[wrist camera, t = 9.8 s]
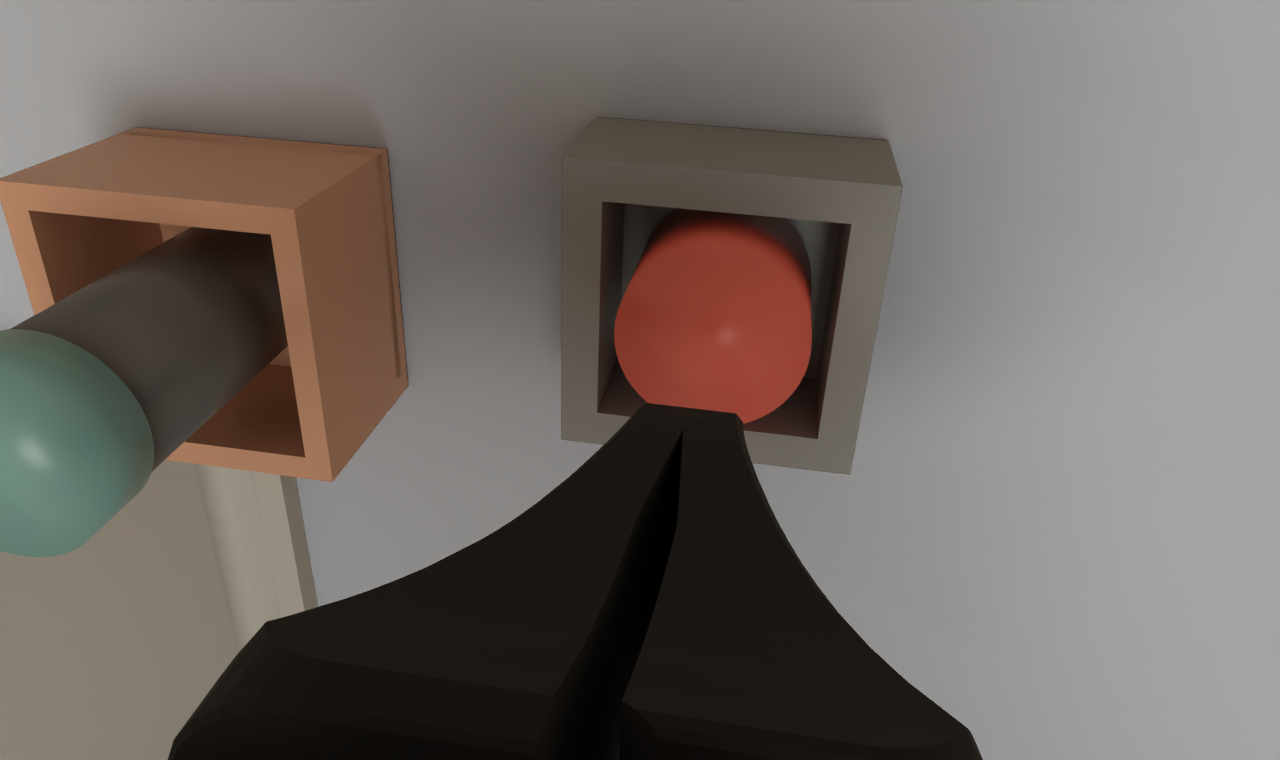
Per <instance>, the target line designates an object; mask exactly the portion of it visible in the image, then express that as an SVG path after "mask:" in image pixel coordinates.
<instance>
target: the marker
mask: <svg viewBox="0 0 1280 760" xmlns="http://www.w3.org/2000/svg"><path fill="white" fill-rule="evenodd" d="M287 346H288V342H287V336H286V329H285V323H284V317H283V310H282V304H281V297H280V291H279V284H278V278H277V272H276V265H275V259H274V252H273V246H272V240H271V235H270V234H260V233H250V232H240V231H230V230H220V229H210V228H200V227H190V228H188V229H186V230H185V231H183V232H181V233H179V234H178V235H176V236H174V237H172V238H171V239H169V240H167V241H165V242H163V243H162V244H160V245H158V246H156V247H155V248H153V249H151V250H149V251H148V252H146V253H144V254H142V255H140V256H139V257H137V258H135V259H133V260H132V261H130V262H128V263H126V264H125V265H123V266H121V267H119V268H117V269H116V270H114V271H112V272H110V273H109V274H107V275H105V276H103V277H102V278H100V279H98V280H96V281H94V282H93V283H91V284H89V285H87V286H86V287H84V288H82V289H80V290H79V291H77V292H75V293H73V294H71V295H70V296H68V297H66V298H64V299H63V300H61V301H59V302H57V303H56V304H54V305H52V306H50V307H48V308H47V309H45V310H43V311H41V312H40V313H38V314H36V315H34V316H33V317H31V318H29V319H27V320H25V321H24V322H22V323H20V324H18V325H17V326H15V327H13V328H11V329H8V330H2V331H0V551H2V552H6V553H10V554H14V555H19V556H27V557H51V556H58V555H62V554H66V553H68V552H71V551H73V550H76V549H77V548H79V547H80V546H82V545H84V544H85V543H86V542H87V541H88V540H89V539H90V538H91V537H93V536H94V535H95V534H96V533H97V532H98V531H99V530H100V529H101V528H102V527H103V526H104V525H105V524H106V523H107V522H109V521H110V520H111V519H112V518H113V517H114V516H115V515H116V514H117V513H118V512H119V511H120V510H121V509H122V508H123V507H124V506H126V505H127V504H128V503H129V502H130V501H131V500H132V499H133V498H134V497H135V496H136V495H137V494H138V493H139V492H140V491H141V490H142V489H143V488H144V486H145V485H146V483H147V481H148V479H149V477H150V475H151V472H152V471H154V470H155V469H156V468H157V467H158V466H159V465H160V464H161V463H162V462H163V461H164V460H165V459H166V458H168V457H169V456H170V455H171V454H172V453H173V452H174V451H175V450H176V449H177V448H178V447H179V446H181V445H182V444H183V443H184V442H185V441H186V440H187V439H188V438H189V437H190V436H191V435H192V434H193V433H195V432H196V431H197V430H198V429H199V428H200V427H201V426H202V425H203V424H204V423H205V422H206V421H207V420H209V419H210V418H211V417H212V416H213V415H214V414H215V413H216V412H217V411H218V410H219V409H220V408H222V407H223V406H224V405H225V404H226V403H227V402H228V401H229V400H230V399H231V398H232V397H233V396H234V395H236V394H237V393H238V392H239V391H240V390H241V389H242V388H243V387H244V386H245V385H246V384H247V383H249V382H250V381H251V380H252V379H253V378H254V377H255V376H256V375H257V374H258V373H259V372H260V371H261V370H263V369H264V368H265V367H266V366H267V365H268V364H269V363H270V362H271V361H272V360H273V359H274V358H275V357H277V356H278V355H279V354H280V353H281V352H282V351H283V350H284V349H285V348H286V347H287Z"/></svg>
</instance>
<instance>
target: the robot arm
mask: <svg viewBox="0 0 1280 760" xmlns="http://www.w3.org/2000/svg"><path fill="white" fill-rule="evenodd" d="M168 760H983V759H982V757H981V754H980V752H979V750H978V747H977V745H976V743H975V740H974V738H973V736H972V734H971V732H970V731H969V730H968V728H966V727H965V726H964V725H963V724H961V723H960V722H959V721H957V720H956V719H955V718H954V717H952V716H951V715H950V714H948V713H947V712H946V711H945V710H943V709H942V708H941V707H939V706H938V705H937V704H935V703H934V702H933V701H932V700H930V699H929V698H928V697H926V696H925V695H924V694H923V693H921V692H920V691H919V690H917V689H916V688H915V687H913V686H912V685H911V684H910V683H908V682H907V681H906V680H905V679H904V678H903V677H901V676H900V675H899V674H898V673H897V672H896V671H895V670H894V669H893V668H892V667H891V666H890V665H888V664H887V663H886V662H885V661H884V660H883V659H882V658H881V657H880V656H879V655H878V654H877V653H875V652H874V651H873V650H872V649H871V648H870V647H869V646H868V645H867V644H866V642H865V641H864V640H863V639H862V638H861V637H860V636H859V635H858V634H857V633H856V632H855V630H854V629H853V628H852V627H851V626H850V625H849V624H848V623H847V622H846V621H845V619H844V618H843V617H842V616H841V615H840V614H839V613H838V612H837V610H836V609H835V608H834V607H833V605H832V604H831V603H830V601H829V600H828V599H827V598H826V596H825V595H824V594H823V592H822V591H821V590H820V589H819V587H818V586H817V584H816V583H815V582H814V580H813V579H812V577H811V576H810V574H809V573H808V571H807V570H806V569H805V567H804V566H803V564H802V563H801V561H800V559H799V558H798V556H797V555H796V553H795V551H794V550H793V548H792V546H791V545H790V543H789V541H788V540H787V538H786V536H785V534H784V532H783V531H782V529H781V527H780V525H779V523H778V521H777V520H776V518H775V516H774V513H773V511H772V509H771V507H770V505H769V503H768V501H767V499H766V496H765V494H764V492H763V489H762V487H761V485H760V483H759V480H758V478H757V475H756V473H755V470H754V467H753V465H752V461H751V458H750V455H749V452H748V449H747V445H746V441H745V437H744V430H743V421H742V420H741V419H740V418H739V416H738V415H737V414H736V413H729V412H720V411H712V410H703V409H695V408H686V407H678V406H669V405H660V404H652V403H645V404H644V405H643V406H641V407H640V408H639V409H637V411H636V412H635V413H634V414H633V415H632V416H631V417H630V418H629V419H628V421H627V422H626V423H625V424H624V425H623V426H622V427H621V428H620V429H619V430H618V431H617V432H616V433H615V434H614V435H613V436H612V437H611V438H610V439H609V440H608V441H607V442H606V443H605V444H604V445H603V446H602V447H601V448H600V449H599V450H598V451H597V452H596V453H595V454H594V455H593V456H592V457H591V458H590V459H588V460H587V461H586V462H585V463H584V464H583V465H582V466H581V467H580V468H579V469H578V470H577V471H576V472H574V473H573V474H572V475H571V476H570V477H569V478H567V479H566V480H565V481H564V482H562V483H561V484H560V485H559V486H557V487H556V488H555V489H554V490H552V491H551V492H550V493H549V494H547V495H546V496H545V497H544V498H542V499H541V500H540V501H539V502H538V503H536V504H535V505H534V506H532V507H531V508H529V509H528V510H527V511H525V512H524V513H522V514H521V515H520V516H518V517H517V518H515V519H514V520H512V521H511V522H509V523H508V524H506V525H505V526H503V527H501V528H500V529H498V530H497V531H495V532H493V533H492V534H490V535H488V536H487V537H485V538H483V539H481V540H479V541H477V542H476V543H474V544H472V545H470V546H468V547H466V548H464V549H462V550H460V551H458V552H456V553H454V554H452V555H450V556H448V557H446V558H444V559H442V560H440V561H438V562H436V563H434V564H432V565H430V566H428V567H426V568H424V569H422V570H419V571H417V572H415V573H412V574H410V575H407V576H405V577H403V578H400V579H398V580H396V581H393V582H390V583H388V584H385V585H382V586H380V587H377V588H374V589H372V590H369V591H367V592H364V593H361V594H358V595H355V596H352V597H349V598H346V599H343V600H340V601H337V602H333V603H330V604H326V605H323V606H320V607H316V608H313V609H310V610H306V611H303V612H299V613H296V614H293V615H289V616H286V617H282V618H278V619H274V620H270V621H266V622H265V623H264V625H263V626H262V627H261V628H260V629H259V630H258V632H257V633H256V634H255V635H254V636H253V637H252V638H251V639H250V641H249V642H248V643H247V644H246V645H245V646H244V647H243V648H242V649H241V651H240V652H239V653H238V654H237V655H236V656H235V658H234V659H233V660H232V662H231V663H230V664H229V666H228V667H227V668H226V669H225V671H224V672H223V673H222V675H221V676H220V677H219V679H218V680H217V681H216V683H215V684H214V685H213V687H212V688H211V690H210V691H209V692H208V694H207V695H206V696H205V698H204V699H203V700H202V702H201V703H200V705H199V706H198V707H197V709H196V710H195V711H194V713H193V714H192V715H191V717H190V718H189V719H188V721H187V722H186V724H185V725H184V726H183V728H182V729H181V730H180V732H179V733H178V734H177V736H176V737H175V739H174V740H173V744H172V747H171V750H170V754H169V757H168Z"/></svg>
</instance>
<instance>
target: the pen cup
mask: <svg viewBox="0 0 1280 760" xmlns="http://www.w3.org/2000/svg"><path fill="white" fill-rule="evenodd" d="M0 200H1V204H2V207H3V211H4V214H5V217H6V221H7V224H8V227H9V231H10V234H11V237H12V241H13V244H14V248H15V251H16V254H17V258H18V261H19V264H20V268H21V271H22V275H23V278H24V281H25V285H26V288H27V291H28V295H29V298H30V302H31V305H32V308H33V312H34V315H36V314H38V313H40V312H41V311H43V310H45V309H47V308H48V307H50V306H52V305H54V304H56V303H57V302H59V301H61V300H63V299H64V298H66V297H68V296H70V295H71V294H73V293H75V292H77V291H79V290H80V289H82V288H84V287H86V286H87V285H89V284H91V283H93V282H94V281H96V280H98V279H100V278H102V277H103V276H105V275H107V274H109V273H110V272H112V271H114V270H116V269H117V268H119V267H121V266H123V265H125V264H126V263H128V262H130V261H132V260H133V259H135V258H137V257H139V256H140V255H142V254H144V253H146V252H148V251H149V250H151V249H153V248H155V247H156V246H158V245H160V244H162V243H163V242H165V241H167V240H169V239H171V238H172V237H174V236H176V235H178V234H179V233H181V232H183V231H185V230H186V229H188V228H190V227H200V228H210V229H220V230H230V231H240V232H250V233H260V234H270V235H271V240H272V246H273V252H274V259H275V265H276V272H277V278H278V284H279V291H280V297H281V304H282V310H283V317H284V323H285V329H286V336H287V342H288V346H287V347H286V348H285V349H284V350H283V351H282V352H281V353H280V354H279V355H278V356H277V357H275V358H274V359H273V360H272V361H271V362H270V363H269V364H268V365H267V366H266V367H265V368H264V369H263V370H261V371H260V372H259V373H258V374H257V375H256V376H255V377H254V378H253V379H252V380H251V381H250V382H249V383H247V384H246V385H245V386H244V387H243V388H242V389H241V390H240V391H239V392H238V393H237V394H236V395H234V396H233V397H232V398H231V399H230V400H229V401H228V402H227V403H226V404H225V405H224V406H223V407H222V408H220V409H219V410H218V411H217V412H216V413H215V414H214V415H213V416H212V417H211V418H210V419H209V420H207V421H206V422H205V423H204V424H203V425H202V426H201V427H200V428H199V429H198V430H197V431H196V432H195V433H193V434H192V435H191V436H190V437H189V438H188V439H187V440H186V441H185V442H184V443H183V444H182V445H181V446H179V447H178V448H177V449H176V450H175V451H174V452H173V453H172V454H171V455H170V456H169V457H168V458H166V459H165V460H171V461H179V462H186V463H194V464H201V465H209V466H216V467H224V468H231V469H239V470H247V471H254V472H262V473H269V474H277V475H284V476H292V477H299V478H307V479H315V480H322V481H330V482H333V481H334V479H335V478H336V477H337V476H338V474H339V473H340V472H341V471H342V469H343V468H344V467H345V465H346V464H347V463H348V462H349V460H350V459H351V458H352V457H353V455H354V454H355V453H356V451H357V450H358V449H359V448H360V446H361V445H362V444H363V443H364V441H365V440H366V439H367V438H368V436H369V435H370V434H371V432H372V431H373V430H374V429H375V427H376V426H377V425H378V424H379V422H380V421H381V420H382V418H383V417H384V416H385V415H386V413H387V412H388V411H389V410H390V408H391V407H392V406H393V404H394V403H395V402H396V401H397V399H398V398H399V397H400V396H401V394H402V393H403V392H404V390H405V389H406V388H407V387H408V380H407V368H406V357H405V346H404V334H403V323H402V312H401V301H400V289H399V278H398V267H397V255H396V244H395V233H394V221H393V210H392V199H391V188H390V176H389V165H388V154H387V149H380V148H368V147H357V146H345V145H334V144H322V143H311V142H300V141H288V140H277V139H265V138H254V137H242V136H231V135H219V134H208V133H196V132H185V131H173V130H162V129H150V128H139V127H136V128H134V129H131V130H128V131H125V132H123V133H120V134H117V135H115V136H112V137H109V138H107V139H104V140H101V141H99V142H96V143H93V144H91V145H88V146H85V147H83V148H80V149H77V150H75V151H72V152H69V153H67V154H64V155H61V156H59V157H56V158H53V159H51V160H48V161H45V162H43V163H40V164H37V165H35V166H32V167H29V168H26V169H24V170H21V171H18V172H16V173H13V174H10V175H8V176H5V177H2V178H0Z"/></svg>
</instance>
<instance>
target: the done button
mask: <svg viewBox="0 0 1280 760" xmlns="http://www.w3.org/2000/svg"><path fill="white" fill-rule="evenodd" d="M614 342H615V349H616V354H617V357H618V360H619V363H620V366H621V368H622V370H623V372H624V375H625V377H626V378H627V380H628V381H629V383H630V384H631V386H632V387H633V388H634V389H635V390H636V392H637V393H638V394H639V395H640V396H641V397H642V398H643V399H644V400H645V401H646V402H647V403H652V404H660V405H669V406H678V407H686V408H695V409H703V410H712V411H720V412H729V413H736V414H737V415H738V416H739V418H740V419H741V420H742V421H743V424H745V423H748V422H752V421H754V420H756V419H759V418H761V417H763V416H765V415H767V414H769V413H770V412H772V411H774V410H775V409H776V408H778V407H779V406H780V405H782V404H783V403H784V402H785V401H786V400H787V399H788V398H789V397H790V396H791V395H792V394H793V392H794V391H795V390H796V388H797V387H798V386H799V384H800V382H801V380H802V378H803V377H804V374H805V372H806V369H807V367H808V363H809V359H810V354H811V343H812V318H811V267H810V262H809V257H808V254H807V252H806V249H805V246H804V244H803V242H802V241H801V239H800V237H799V235H798V234H797V233H796V231H795V230H794V229H793V227H792V226H791V225H790V224H789V223H788V222H787V221H786V220H785V219H784V218H779V217H768V216H757V215H746V214H736V213H725V212H714V211H703V210H692V209H681V208H679V209H677V210H675V211H674V212H673V213H671V214H670V215H668V216H667V217H666V218H665V219H664V220H663V221H662V222H661V223H660V224H659V225H658V227H657V228H656V229H655V230H654V232H653V233H652V235H651V237H650V239H649V240H648V242H647V245H646V247H645V249H644V251H643V254H642V256H641V258H640V260H639V263H638V265H637V267H636V269H635V272H634V274H633V276H632V278H631V281H630V283H629V285H628V288H627V290H626V292H625V294H624V297H623V299H622V301H621V304H620V306H619V308H618V312H617V316H616V320H615V328H614Z"/></svg>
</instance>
